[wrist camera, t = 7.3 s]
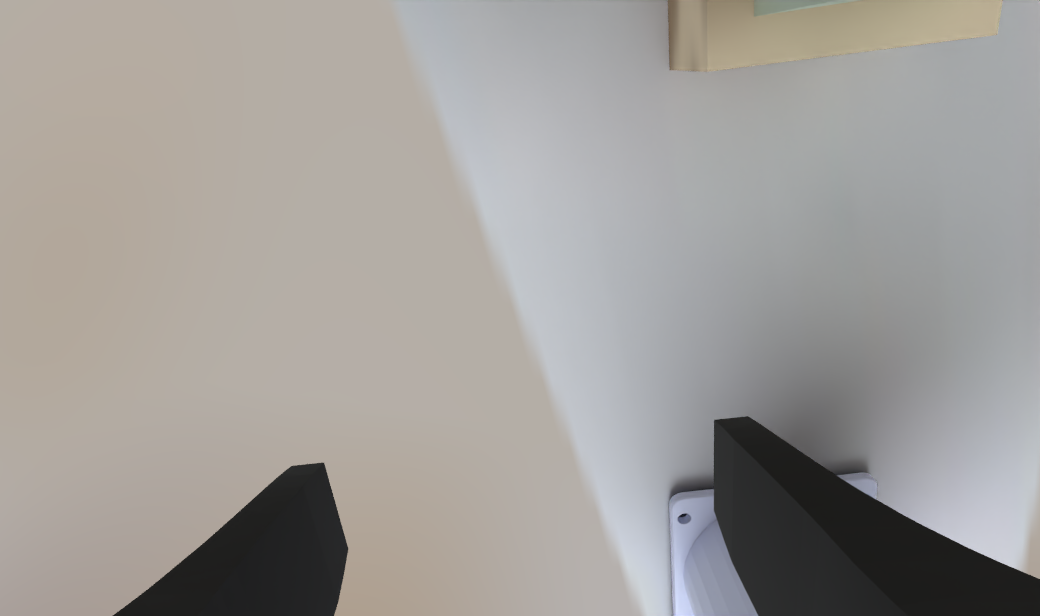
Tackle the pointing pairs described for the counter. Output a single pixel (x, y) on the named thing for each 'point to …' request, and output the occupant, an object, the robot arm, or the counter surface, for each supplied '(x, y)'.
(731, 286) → the counter surface
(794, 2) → the sage cube
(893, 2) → the beech base block
